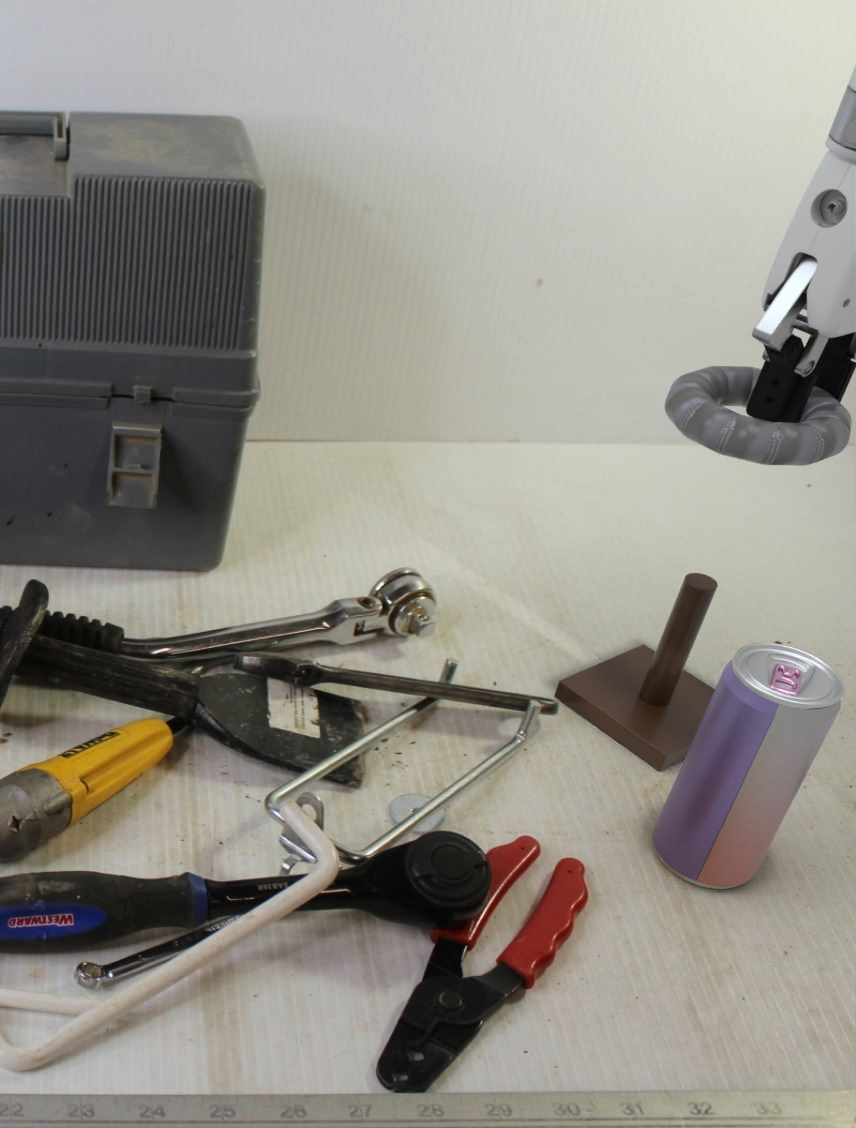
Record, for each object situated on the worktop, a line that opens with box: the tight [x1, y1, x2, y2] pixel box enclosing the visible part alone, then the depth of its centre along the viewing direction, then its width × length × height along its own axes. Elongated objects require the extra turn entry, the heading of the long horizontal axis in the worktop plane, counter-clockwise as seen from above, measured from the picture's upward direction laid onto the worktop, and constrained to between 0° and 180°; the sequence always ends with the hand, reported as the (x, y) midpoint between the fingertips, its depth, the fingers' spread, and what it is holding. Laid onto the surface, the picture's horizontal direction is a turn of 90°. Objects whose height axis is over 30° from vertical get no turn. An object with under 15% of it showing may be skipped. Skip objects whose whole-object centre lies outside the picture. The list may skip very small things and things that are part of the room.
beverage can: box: [651, 642, 845, 890], centre depth 79 cm, size 6×6×15 cm
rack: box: [553, 572, 719, 772], centre depth 91 cm, size 9×9×12 cm
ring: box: [664, 365, 853, 467], centre depth 84 cm, size 10×10×3 cm
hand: (789, 413), depth 86 cm, fingers closed on ring, 3 cm apart
